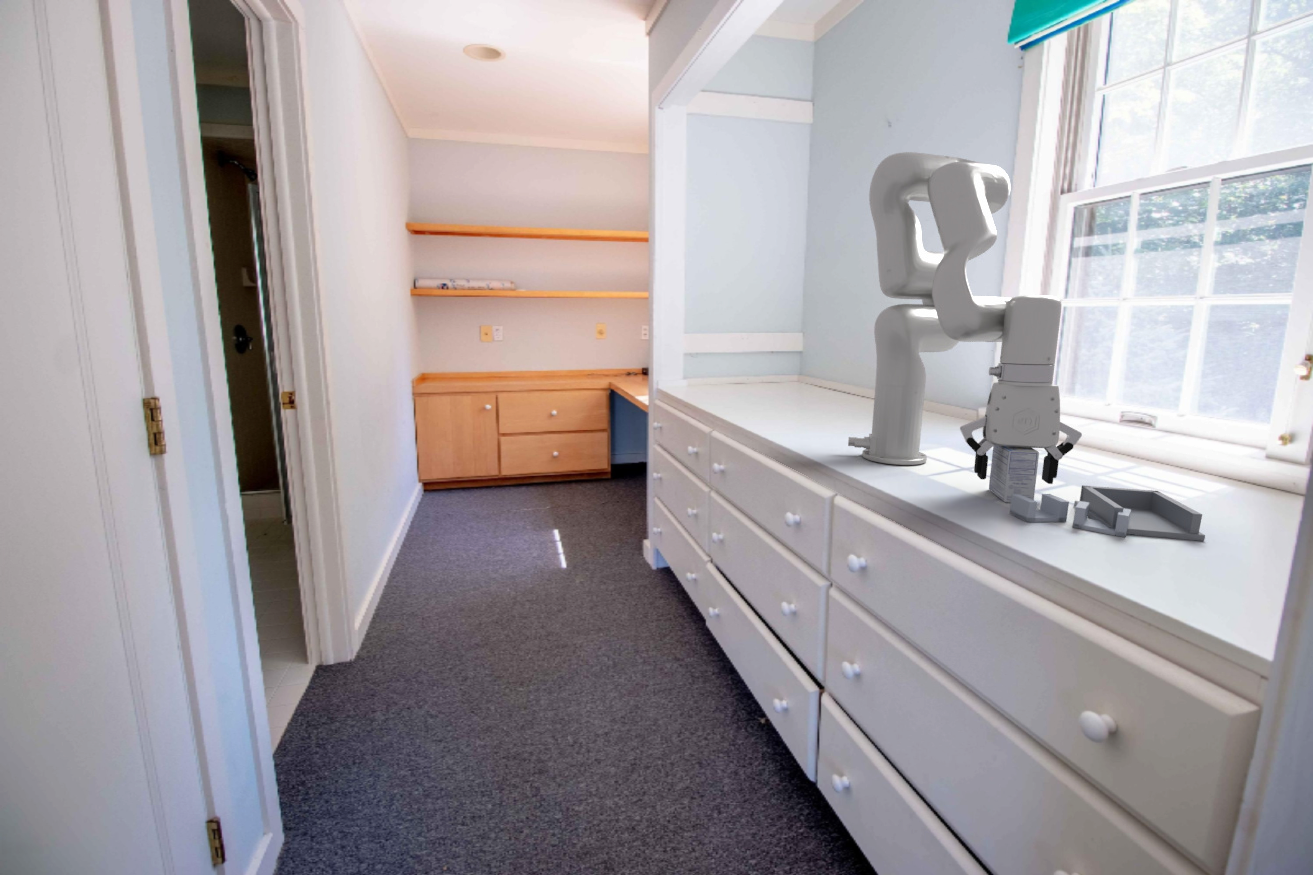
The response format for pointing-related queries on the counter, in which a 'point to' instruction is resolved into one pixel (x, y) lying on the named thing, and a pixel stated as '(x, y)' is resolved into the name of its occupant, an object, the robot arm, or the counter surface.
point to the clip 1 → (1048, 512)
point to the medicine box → (1013, 472)
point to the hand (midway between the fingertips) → (1013, 479)
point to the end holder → (1143, 512)
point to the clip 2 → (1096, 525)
